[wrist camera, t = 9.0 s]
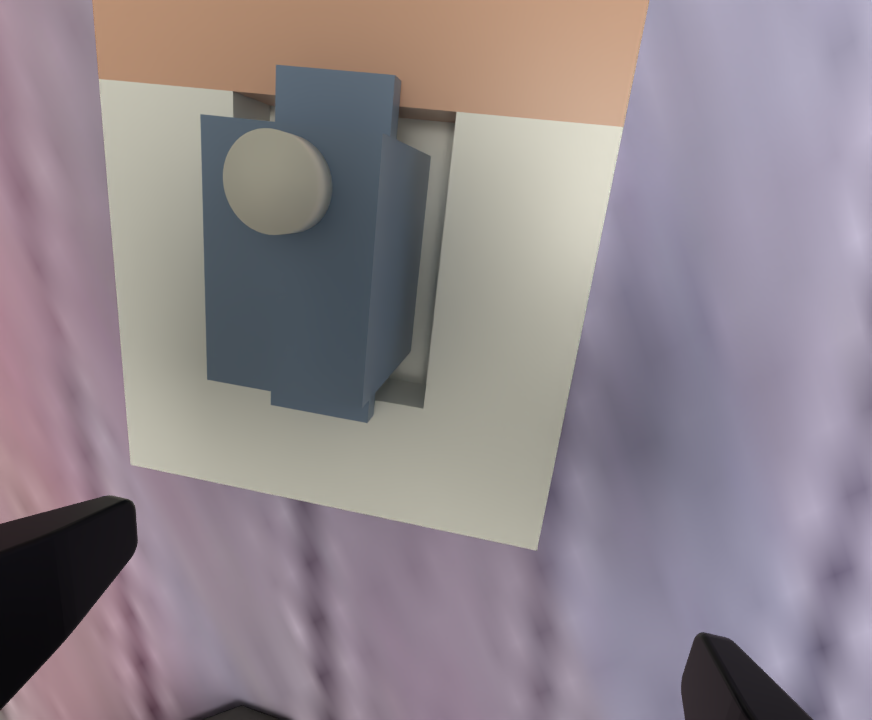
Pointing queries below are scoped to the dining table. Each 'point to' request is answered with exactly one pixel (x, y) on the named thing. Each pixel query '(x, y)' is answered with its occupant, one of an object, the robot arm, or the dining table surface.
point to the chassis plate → (440, 254)
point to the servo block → (313, 242)
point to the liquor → (241, 715)
